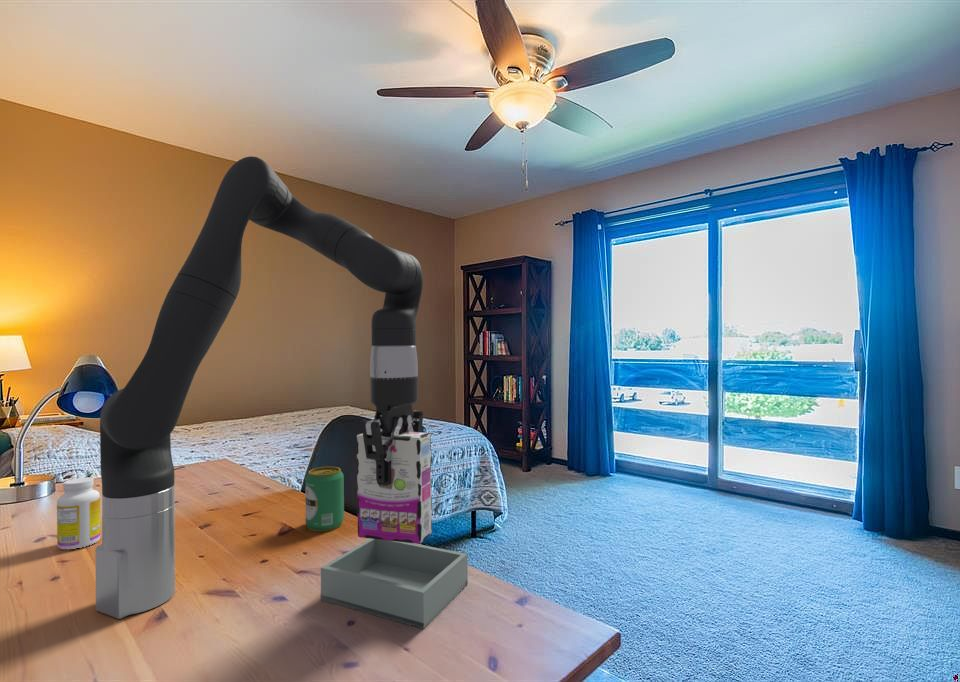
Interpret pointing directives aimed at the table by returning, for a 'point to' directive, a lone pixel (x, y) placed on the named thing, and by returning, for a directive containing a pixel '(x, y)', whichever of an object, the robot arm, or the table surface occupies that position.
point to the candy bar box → (396, 491)
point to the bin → (395, 580)
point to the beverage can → (324, 498)
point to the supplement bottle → (78, 514)
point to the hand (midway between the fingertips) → (395, 479)
